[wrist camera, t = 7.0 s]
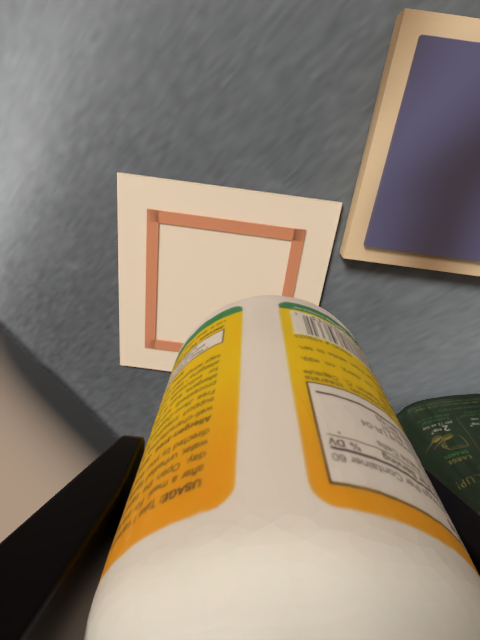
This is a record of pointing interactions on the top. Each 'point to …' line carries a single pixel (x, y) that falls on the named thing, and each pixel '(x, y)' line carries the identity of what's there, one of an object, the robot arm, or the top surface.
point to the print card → (209, 257)
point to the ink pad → (422, 151)
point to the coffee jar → (448, 441)
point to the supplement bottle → (281, 499)
